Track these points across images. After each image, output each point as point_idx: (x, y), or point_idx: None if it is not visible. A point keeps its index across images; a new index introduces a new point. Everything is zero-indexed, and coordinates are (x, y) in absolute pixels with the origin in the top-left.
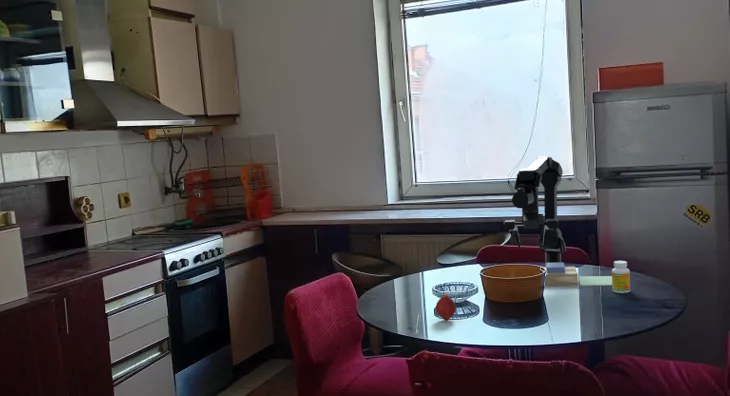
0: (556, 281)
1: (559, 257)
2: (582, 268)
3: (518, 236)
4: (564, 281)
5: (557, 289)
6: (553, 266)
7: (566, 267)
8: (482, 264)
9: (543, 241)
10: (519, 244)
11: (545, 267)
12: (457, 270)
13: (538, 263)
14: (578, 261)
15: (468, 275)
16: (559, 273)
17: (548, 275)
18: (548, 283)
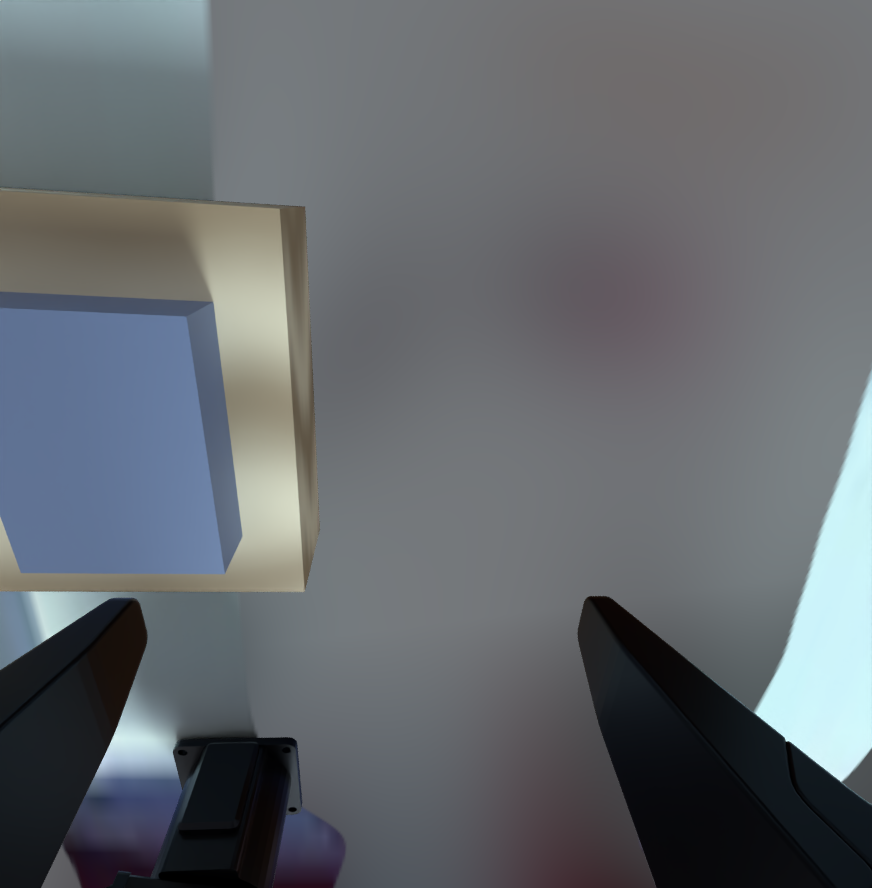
0: (124, 196)
1: (166, 840)
2: None
3: (818, 867)
4: (31, 190)
5: (114, 9)
6: (100, 368)
7: None
8: None
9: (13, 715)
10: (643, 655)
11: (253, 565)
12: (847, 729)
13: (342, 850)
14: (105, 883)
15: (829, 616)
16: (47, 258)
17: (187, 203)
18: (224, 202)
